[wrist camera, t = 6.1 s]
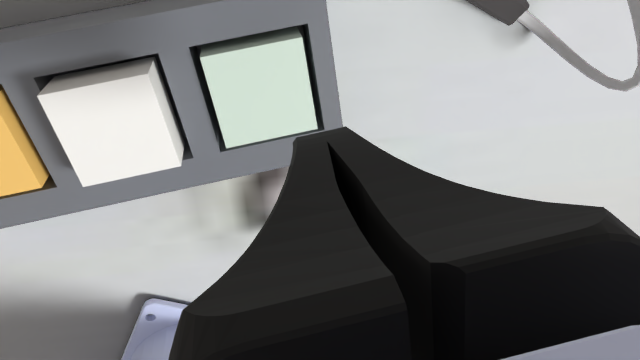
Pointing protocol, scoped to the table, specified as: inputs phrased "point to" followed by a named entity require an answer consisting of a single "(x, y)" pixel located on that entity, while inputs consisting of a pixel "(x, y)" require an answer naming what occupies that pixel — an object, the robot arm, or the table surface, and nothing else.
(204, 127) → the keypad
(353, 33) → the table surface
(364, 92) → the table surface
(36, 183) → the amber key
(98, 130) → the middle key
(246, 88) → the sage key
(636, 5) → the clip-on lamp
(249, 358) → the robot arm
